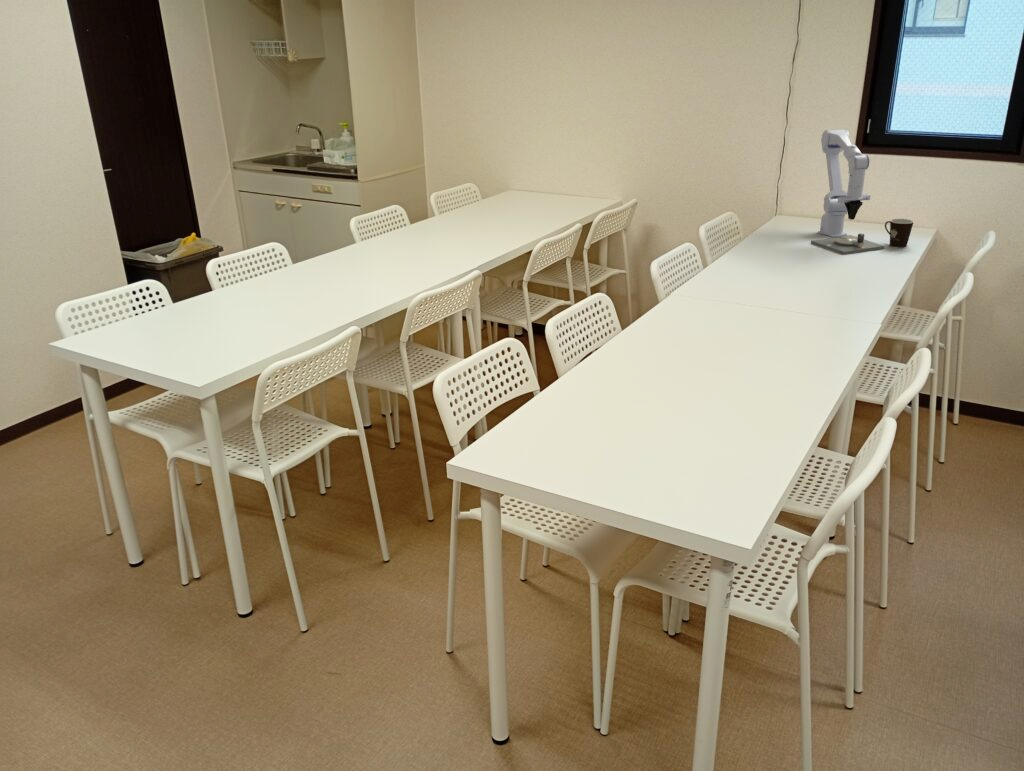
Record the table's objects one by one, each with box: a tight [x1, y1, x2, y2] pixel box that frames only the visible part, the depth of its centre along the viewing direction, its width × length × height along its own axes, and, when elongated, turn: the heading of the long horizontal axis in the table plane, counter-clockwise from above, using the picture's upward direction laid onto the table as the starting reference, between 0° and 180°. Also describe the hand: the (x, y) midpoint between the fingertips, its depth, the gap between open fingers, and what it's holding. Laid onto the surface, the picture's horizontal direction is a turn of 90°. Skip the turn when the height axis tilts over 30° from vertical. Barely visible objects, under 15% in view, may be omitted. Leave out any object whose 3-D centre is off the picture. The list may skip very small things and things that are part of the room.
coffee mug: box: [884, 218, 915, 248], centre depth 338 cm, size 12×9×10 cm
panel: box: [810, 234, 885, 256], centre depth 340 cm, size 20×20×2 cm
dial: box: [834, 233, 865, 246], centre depth 338 cm, size 13×10×5 cm
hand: (851, 219), depth 341 cm, fingers closed
